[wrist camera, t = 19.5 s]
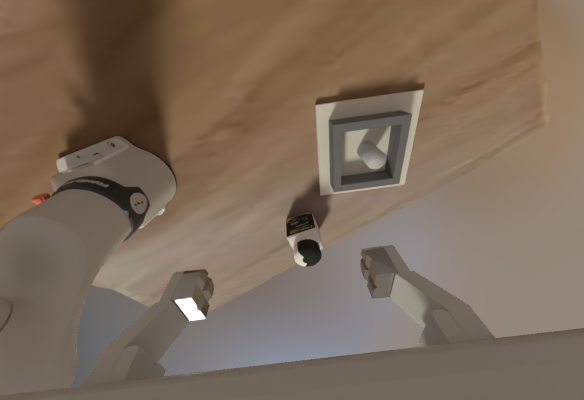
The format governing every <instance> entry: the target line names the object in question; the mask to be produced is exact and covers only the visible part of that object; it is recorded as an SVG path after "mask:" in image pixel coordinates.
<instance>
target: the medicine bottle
mask: <svg viewBox="0 0 584 400" xmlns="http://www.w3.org/2000/svg"><path fill="white" fill-rule="evenodd" d="M286 228H287V239H288V241H289V243H290V244H291V246H292V248H293V250H294V259H295V261H296V262H297V263H298V264H299V265H301V266H313V265H315V264H316V263H318V262H319V260H320V259H321V251H320V249H323V248H324V247H323V243H322V239H321V235H320V231H319V228H318V225H317V223H316V220H315V218H314V215H313V213H312V211H310V212H307V213H304V214H301V215H298V216H295V217H292V218H289V219H286Z"/></svg>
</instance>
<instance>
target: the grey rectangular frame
mask: <svg viewBox="0 0 584 400" xmlns="http://www.w3.org/2000/svg"><path fill="white" fill-rule="evenodd" d="M411 118H412V114H410V113H408V112H405V111H402V110H399V111H392V112H385V113H377V114H370V115H363V116H356V117H349V118H342V119H335V120H329V163H330V185H331V187H332V189H333V191H334V192H340V191H348V190H355V189H363V188H370V187H378V186H385V185H393V184H399V182H400V177H401V172H402V166H403V161H404V156H405V150H406V145H407V140H408V134H409V129H410V124H411ZM385 126H391V130H390V137H389V145H388V152H387V159H386V166H385V170H384V171H376V172H369V173H361V174H354V175H346V176H341V133H342V132H349V131H356V130H364V129H371V128H378V127H385Z"/></svg>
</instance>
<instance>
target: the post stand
mask: <svg viewBox="0 0 584 400" xmlns="http://www.w3.org/2000/svg"><path fill="white" fill-rule="evenodd" d="M423 91H424V90H414V91H407V92H400V93H393V94H386V95H379V96H372V97H365V98H358V99H350V100H343V101H336V102H329V103H322V104H315V114H316V132H317V150H318V168H319V186H320V195H321V196H323V195H330V194H338V193H345V192H353V191H361V190H368V189H376V188H383V187H391V186H398V185H404V184H405V180H406V175H407V170H408V165H409V160H410V155H411V150H412V145H413V140H414V135H415V131H416V126H417V121H418V116H419V111H420V106H421V101H422V96H423ZM399 110H402V111H405V112H408V113H410V114H412V118H411V124H410V129H409V134H408V140H407V145H406V150H405V156H404V161H403V166H402V172H401V177H400V182H399V184H393V185H385V186H378V187H370V188H363V189H355V190H348V191H340V192H334V191H333V189H332V187H331V185H330V163H329V120H335V119H342V118H349V117H356V116H363V115H370V114H377V113H385V112H392V111H399ZM390 130H391V126H385V127H378V128H371V129H364V130H356V131H349V132H342V133H341V176H346V175H354V174H361V173H369V172H376V171H384V170H385V166H386V159H387V152H388V145H389V137H390Z"/></svg>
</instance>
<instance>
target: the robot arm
mask: <svg viewBox="0 0 584 400" xmlns="http://www.w3.org/2000/svg"><path fill="white" fill-rule="evenodd" d="M113 144H114V145H115V146H114V145H113ZM57 168H58V171H59V173H58V174H56V175H54V176H53V177H52V178H51V184H52V187H53V189H54V191H55V192H54V193H53V194H52V196H51V197H50V195H49V194H47V193H45V194H41V195H38V196H36V197H33V198H32V199H31V201H32V202H33V203H35V204H36V206H34V207H33V208H31V209H29V210H27V211H26V212H24V213H22V214H20V215H19V216H17V217H15V218H13V219H11V220H10V221H8V222H7V223H6V224H5V225H4V226H3V227H2V228H1V229H0V400H584V328H581V329H572V330H564V331H555V332H546V333H537V334H530V335H529V334H528V335H520V336H512V337H502V338H495V337H494V336H493V335H492V333H491V332H490V331H489V330H488V328H487V327H486V326H485V325H484V323H483V322H482V321H481V320H480V318H479V317H478V316H477V315H476V313H475V312H474V311H473V310H472V308H471V307H470V306H469V305H468V304H466V303H464V302H463V301H461V300H460V299H458V298H457V297H455V296H453V295H451V294H450V293H448V292H447V291H445V290H443V289H442V288H440V287H439V286H437V285H435V284H434V283H432V282H430V281H429V280H427V279H425V278H424V277H422V276H421V275H419V274H417V273H415V272H414V271H410V270H409V269H408V267H407V265H406V264H405V262H404V261H403V260H402V258H401V256H400V255H399V253H398V252H397V250H396V249H395V247H394V246H393V245H390V246H382V247H381V246H380V247H374V248H366V249H362V251H361V255H362V257H363V258H362V259H361V263H360V265H361V271H362V274H363V277H364V278H365V279H366V280H367V281H368V284H367V287H368V289H369V291H370V294H371V296H372V298H382V297H390V298H391V299H392V300H393V301H394V302H395V303H396V304H397V305H398V306H399V307H401V308H402V309H403V310H404V311H405V312H406V313H407V314H408V315H409V316H411V317H412V318H413V319H414V320H415V321H416V322H417V323H418V324H419V325H421V326H422V327H423V328H424V330H423V333H422V335H421V337H420V339H419V343H420V345H421V347H416V348H407V349H398V350H389V351H380V352H372V353H364V354H355V355H346V356H337V357H328V358H320V359H311V360H302V361H295V362H285V363H276V364H268V365H260V366H250V367H242V368H234V369H224V370H216V371H207V372H198V373H190V374H181V375H172V376H165V377H163V376H164V374H165V368H164V367H163V366H162V365H161V364H160V363H158V361H159V360H160V358H161V357H162V356H163V355H164V353H165V352H166V351H167V350H168V348H169V347H170V346H171V344H172V343H173V342H174V341H175V339H176V338H177V337H178V335H179V334H180V333H181V332H182V330H183V329H184V328H185V327H186V325H187V324H188V323H189V321H193V320H199V319H205V318H206V316H207V312H208V309H209V306H210V305H209V303H208V301H209V300H210V299H211V298H212V295H213V291H214V285H213V281H212V279H211V278H209V277H207V276H208V272H207V270H206V269H202V270H192V271H183V272H176V273H175V274H173V276H172V278H171V280H170V282H169V283H168V285H167V287H166V289H165V291H164V293H163V295H162V297H161V299H160V301H159V302H158V303H155V304H154V305H153V306H152V307H150V308H149V309H148V310H147V311H146V312H145V313H144V314H143V315H141V316H140V317H139V318H138V319H137V320H136V321H135V322H133V323H132V324H131V325H130V326H129V327H128V328H127V329H126V330H125V331H123V332H122V333H121V334H120V335H119V336H118V337H116V338H115V339H114V340H113V341H112V342H111V343H110V344H109V345H108V346H106V347H105V348H104V350H103V351H102V353H101V355H100V356H99V358H98V359H97V361H96V362H95V364H94V366H93V367H92V369H91V371H90V372H89V374H88V375H87V377H86V378H85V380H84V382H83V383H82V385H81V386H77V387H71V385H72V383H73V380H74V378H75V375H76V372H77V368H78V358H77V351H76V336H77V328H78V322H79V318H80V315H81V311H82V308H83V305H84V301H85V299H86V296H87V293H88V291H89V289H90V286H91V284H92V282H93V280H94V278H95V277H96V275H97V273H98V272H99V270H100V269H101V267H102V266H103V265H104V264H105V262H106V261H107V260H108V259H109V257H110V256H111V255H112V254H113V252H114V251H115V250H116V249H117V248H118V247H119V245H120V244H121V243H122V242H123V241H125V240H127V239H128V238H130V237H131V236H132V235H133V234H134V233H135V232H136V231H137V230H138V229H139V228H143V227H144V226H145V225H146V224H147V223H148V222H149V221H151V220H152V219H153V218H154V217H155V216H156V215H161V214H163V213H164V212H165V210H166V206H167V203H168V202H169V201H170V200H171V199H172V198H173V197H174V195H175V192H176V181H175V178H174V175H173V173H172V172H171V170H170V169H169V167H168V166H167V165H166V164H165V163H164V162H163V161H162V160H161V159H159V158H158V157H157V156H155V155H153V154H152V153H150V152H148V151H145V150H143V149H140V148H138V147H136V146H134V145H132V144H131V143H130V142H129V141H127V140H126V139H124V138H123V137H120V136H114V137H112V138H109V139H107V140H104V141H101V142H99V143H96V144H94V145H91V146H89V147H86V148H83V149H81V150H78V151H76V152H73V153H71V154H68V155H66V156H63V157H61V158H59V159H58V160H57Z"/></svg>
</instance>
